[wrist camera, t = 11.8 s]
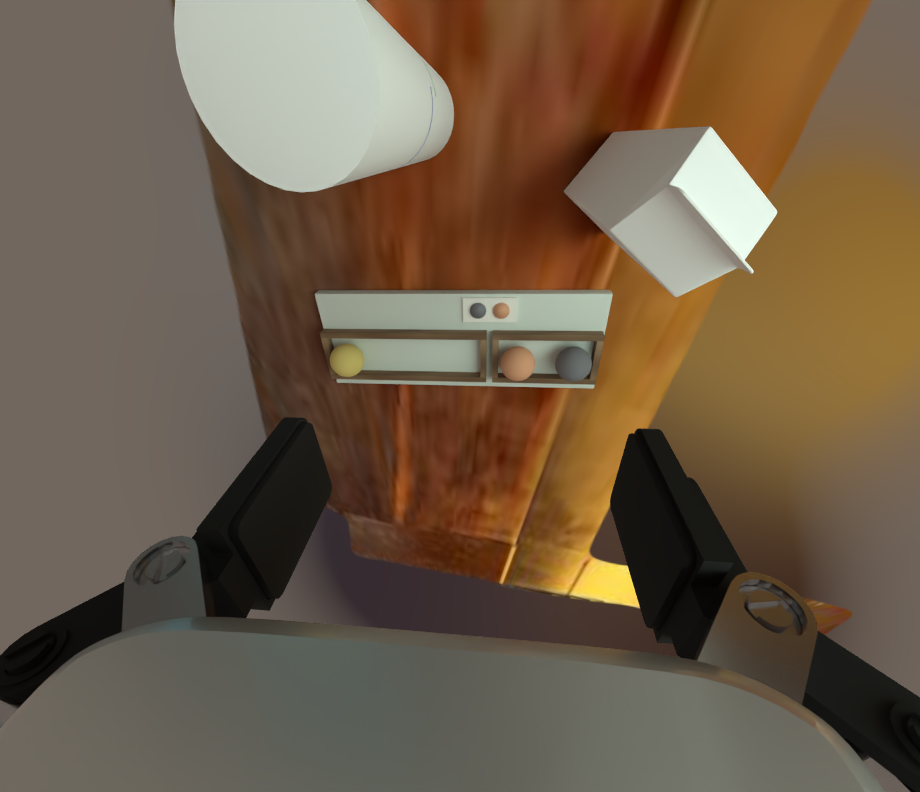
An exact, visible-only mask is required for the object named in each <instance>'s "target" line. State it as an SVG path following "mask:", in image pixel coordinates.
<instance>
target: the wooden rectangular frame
mask: <svg viewBox="0 0 920 792" xmlns="http://www.w3.org/2000/svg"><path fill="white" fill-rule="evenodd" d="M604 338H605V335H604V333H603V331H538V330H493V349H492V382H494V383H541V384H588V385H595V382H596V377H597V372H598V367H599V362H600V357H601V352H602V347H603V343H604ZM499 340H521V341H594V345H593V350H592V356H591V361H592V367H591V370H590V372H589V374H588V375H587V376H586V377H585V378H584V379H582V380H580V381H575V382H570V381H566V380H564V379H563V378H561V377H560V376H559V375H558V374H543V373H532V374H531V375H530V376H529V377H528V378H527V379H525V380H522V381H513V380H510V379H509V378H507V377H506V376H505V375H504V374H503V373H498V351H499Z"/></svg>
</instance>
